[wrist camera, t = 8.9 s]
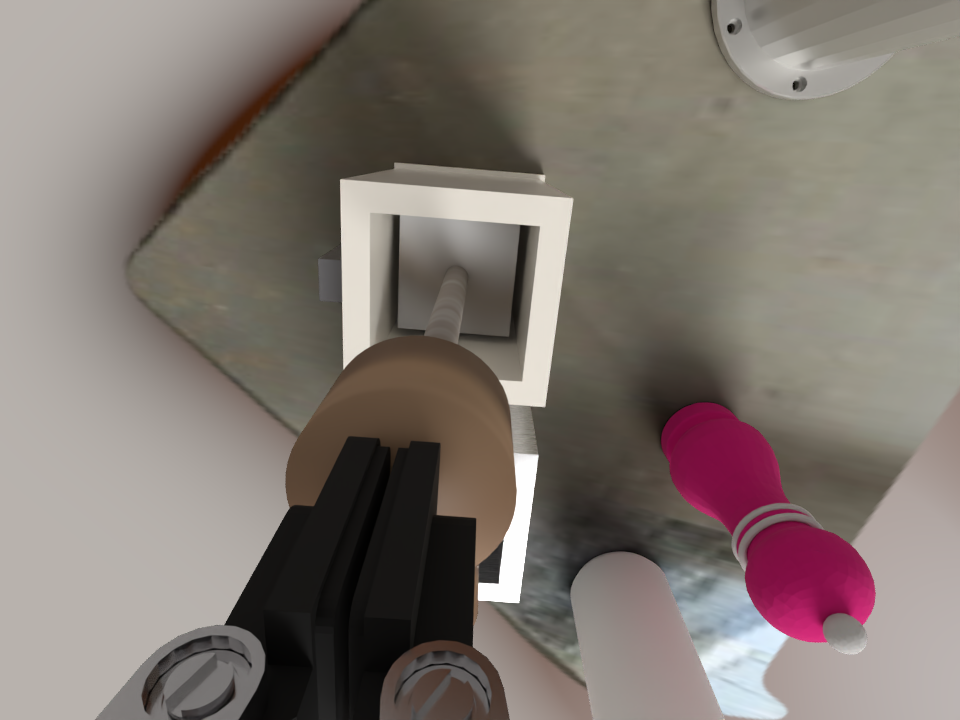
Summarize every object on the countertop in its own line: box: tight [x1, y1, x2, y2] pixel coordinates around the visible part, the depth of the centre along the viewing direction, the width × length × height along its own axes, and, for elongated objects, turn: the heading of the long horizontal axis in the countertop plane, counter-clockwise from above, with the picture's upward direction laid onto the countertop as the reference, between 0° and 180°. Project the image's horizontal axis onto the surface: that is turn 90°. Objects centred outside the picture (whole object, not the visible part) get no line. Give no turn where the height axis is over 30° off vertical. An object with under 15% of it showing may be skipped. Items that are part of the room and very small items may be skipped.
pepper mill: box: [661, 402, 876, 655], centre depth 34 cm, size 7×7×20 cm
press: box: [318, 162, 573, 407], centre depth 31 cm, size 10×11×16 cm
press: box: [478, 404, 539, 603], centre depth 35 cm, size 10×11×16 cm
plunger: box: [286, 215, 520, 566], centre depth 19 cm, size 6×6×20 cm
